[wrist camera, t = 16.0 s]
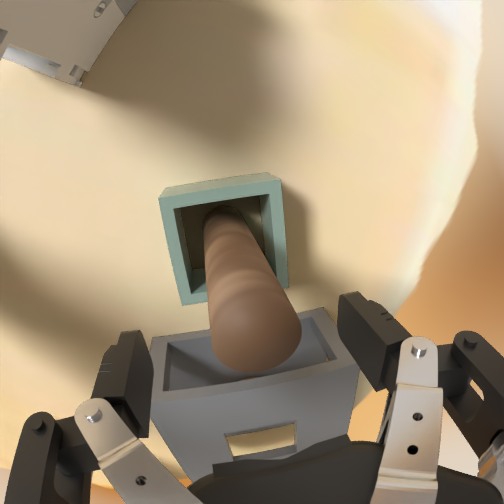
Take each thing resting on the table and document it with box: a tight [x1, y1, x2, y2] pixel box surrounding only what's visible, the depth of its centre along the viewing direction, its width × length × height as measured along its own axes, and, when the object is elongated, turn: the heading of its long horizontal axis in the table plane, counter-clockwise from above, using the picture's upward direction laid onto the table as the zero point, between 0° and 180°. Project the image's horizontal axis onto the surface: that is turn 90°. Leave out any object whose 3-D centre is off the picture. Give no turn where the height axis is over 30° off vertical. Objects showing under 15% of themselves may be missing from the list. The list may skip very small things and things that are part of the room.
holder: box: [158, 173, 289, 306], centre depth 21 cm, size 8×8×4 cm
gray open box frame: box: [150, 307, 360, 483], centre depth 26 cm, size 16×16×8 cm
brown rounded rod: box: [203, 206, 302, 373], centre depth 17 cm, size 3×3×14 cm
